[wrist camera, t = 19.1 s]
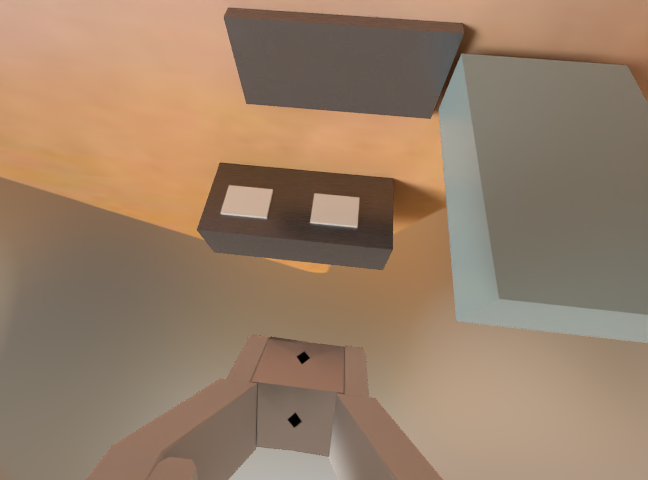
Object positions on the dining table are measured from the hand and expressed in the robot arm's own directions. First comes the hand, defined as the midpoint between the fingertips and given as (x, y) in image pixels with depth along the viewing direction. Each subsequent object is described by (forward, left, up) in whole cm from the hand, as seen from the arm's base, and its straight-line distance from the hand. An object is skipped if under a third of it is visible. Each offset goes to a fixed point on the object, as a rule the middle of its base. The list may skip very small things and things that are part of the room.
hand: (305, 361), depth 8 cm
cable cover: (+4, +12, -18) cm, 22 cm away
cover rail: (+4, 0, -19) cm, 20 cm away
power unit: (+18, -3, -19) cm, 27 cm away
